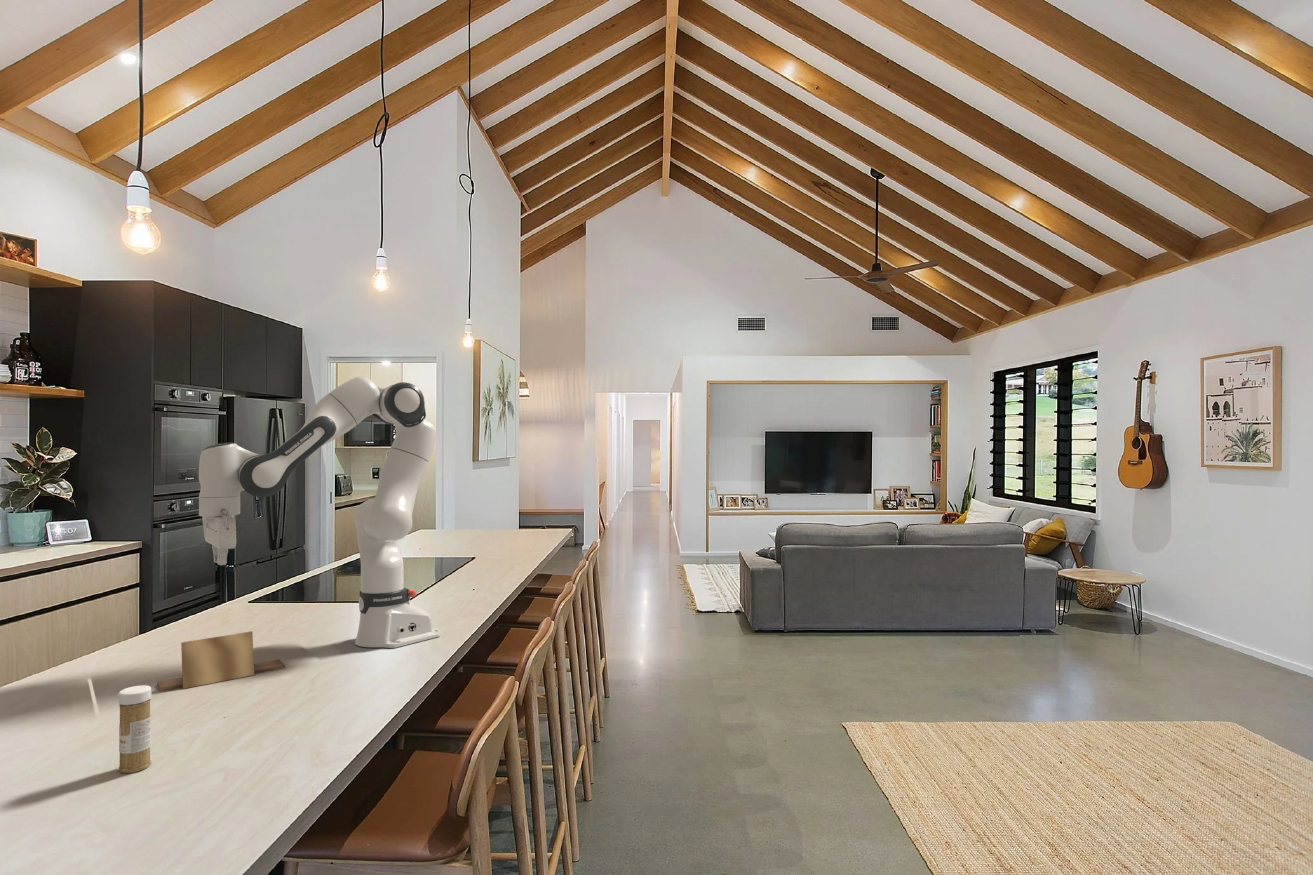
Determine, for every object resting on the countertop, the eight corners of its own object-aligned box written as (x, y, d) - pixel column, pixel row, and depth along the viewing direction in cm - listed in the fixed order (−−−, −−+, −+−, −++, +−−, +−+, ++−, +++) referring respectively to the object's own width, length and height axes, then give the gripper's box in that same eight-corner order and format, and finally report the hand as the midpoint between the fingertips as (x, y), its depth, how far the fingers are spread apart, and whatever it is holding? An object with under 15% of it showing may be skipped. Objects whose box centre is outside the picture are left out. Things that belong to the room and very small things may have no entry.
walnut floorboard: (278, 664, 179) (278, 659, 179) (285, 669, 174) (285, 664, 174) (157, 687, 163) (157, 681, 163) (160, 694, 158) (160, 688, 158)
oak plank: (254, 674, 169) (253, 674, 170) (252, 631, 170) (251, 631, 171) (183, 688, 160) (182, 688, 160) (182, 642, 161) (181, 642, 162)
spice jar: (115, 768, 122) (114, 689, 122) (147, 759, 125) (146, 682, 125) (122, 776, 119) (122, 695, 119) (155, 767, 122) (155, 688, 123)
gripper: (243, 510, 173) (243, 567, 173) (226, 504, 189) (226, 557, 189) (212, 511, 169) (213, 570, 169) (198, 506, 185) (198, 560, 185)
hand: (220, 563), depth 179 cm, fingers open, 3 cm apart
